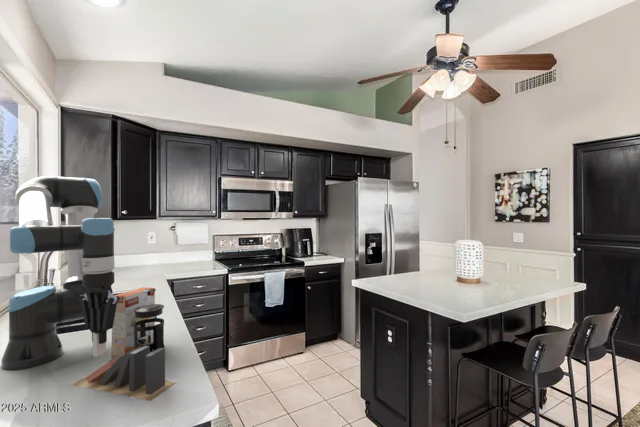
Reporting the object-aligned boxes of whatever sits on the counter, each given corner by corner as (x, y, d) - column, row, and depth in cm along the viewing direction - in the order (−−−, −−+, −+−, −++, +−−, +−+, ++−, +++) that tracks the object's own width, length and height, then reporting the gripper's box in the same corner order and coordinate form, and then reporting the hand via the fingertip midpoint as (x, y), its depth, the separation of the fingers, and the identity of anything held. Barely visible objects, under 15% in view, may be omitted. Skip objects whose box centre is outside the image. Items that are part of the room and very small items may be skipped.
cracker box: (126, 359, 105) (125, 296, 105) (110, 358, 106) (110, 295, 106) (156, 342, 118) (155, 287, 119) (142, 341, 120) (141, 286, 120)
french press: (126, 359, 105) (126, 290, 105) (155, 349, 112) (154, 284, 112) (144, 369, 98) (144, 295, 98) (173, 357, 106) (172, 289, 106)
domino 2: (114, 385, 86) (125, 353, 84) (130, 376, 90) (141, 345, 89) (118, 388, 85) (129, 356, 84) (134, 379, 90) (145, 348, 89)
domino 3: (129, 390, 84) (129, 353, 84) (144, 381, 89) (145, 345, 89) (133, 391, 84) (134, 354, 84) (149, 382, 88) (149, 346, 88)
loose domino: (105, 374, 93) (127, 359, 91) (88, 382, 88) (111, 367, 86) (103, 369, 93) (124, 354, 91) (86, 377, 89) (108, 361, 86)
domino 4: (145, 393, 82) (145, 355, 82) (160, 384, 87) (160, 347, 87) (150, 394, 82) (150, 356, 82) (165, 384, 87) (164, 348, 87)
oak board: (70, 387, 88) (70, 384, 88) (101, 372, 96) (101, 369, 96) (151, 404, 79) (151, 400, 79) (177, 385, 88) (177, 382, 88)
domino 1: (99, 380, 87) (118, 357, 85) (116, 372, 92) (134, 350, 90) (103, 385, 87) (122, 362, 85) (119, 376, 92) (137, 354, 90)
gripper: (68, 273, 89) (69, 357, 89) (103, 274, 85) (104, 362, 85) (94, 268, 96) (95, 346, 96) (127, 270, 92) (128, 351, 92)
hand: (99, 354), depth 90 cm, fingers closed
